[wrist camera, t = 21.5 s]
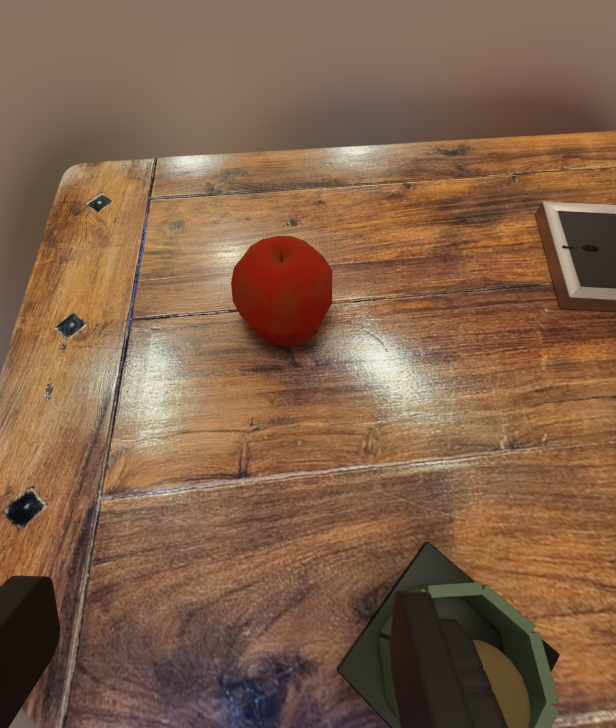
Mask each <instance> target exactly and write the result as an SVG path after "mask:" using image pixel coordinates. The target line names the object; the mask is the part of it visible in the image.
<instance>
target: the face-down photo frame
mask: <svg viewBox="0 0 616 728" xmlns="http://www.w3.org/2000/svg"><path fill="white" fill-rule="evenodd" d="M535 216H536V219H537V223H538V227H539V231H540V235H541V238H542V242H543V246H544V250H545V253H546V257H547V261H548V265H549V268H550V272H551V276H552V280H553V283H554V287H555V291H556V295H557V298H558V302H559V306H560V308H562V309H578V310H594V311H610V312H616V205H600V204H581V203H562V202H542V203H541V205H540V206H539V208H538V210H537V211H536V213H535Z"/></svg>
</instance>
